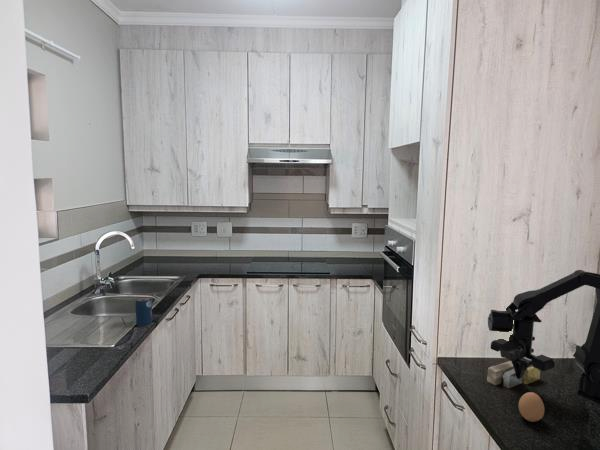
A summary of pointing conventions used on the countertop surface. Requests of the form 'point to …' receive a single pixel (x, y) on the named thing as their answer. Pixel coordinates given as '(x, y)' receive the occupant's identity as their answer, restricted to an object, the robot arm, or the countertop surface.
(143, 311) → the soda can
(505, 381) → the grey block with shaft
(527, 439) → the countertop surface
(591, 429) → the countertop surface
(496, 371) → the block
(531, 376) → the block
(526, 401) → the egg
